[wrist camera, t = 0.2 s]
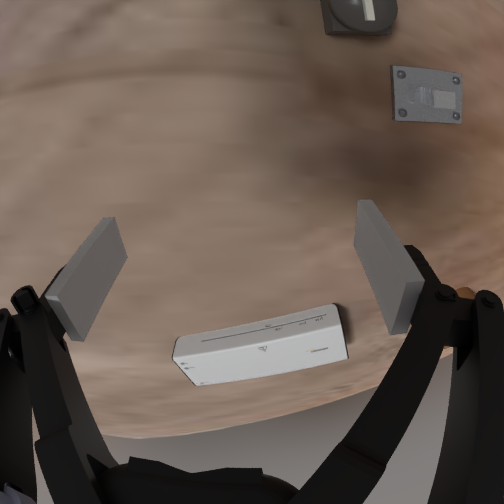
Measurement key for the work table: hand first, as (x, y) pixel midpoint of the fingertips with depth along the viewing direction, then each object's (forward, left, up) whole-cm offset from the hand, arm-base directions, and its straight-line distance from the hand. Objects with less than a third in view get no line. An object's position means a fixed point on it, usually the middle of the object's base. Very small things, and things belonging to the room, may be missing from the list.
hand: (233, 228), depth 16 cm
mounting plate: (-4, +26, -28) cm, 38 cm away
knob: (-16, +15, -28) cm, 35 cm away
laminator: (+43, -4, -28) cm, 51 cm away
